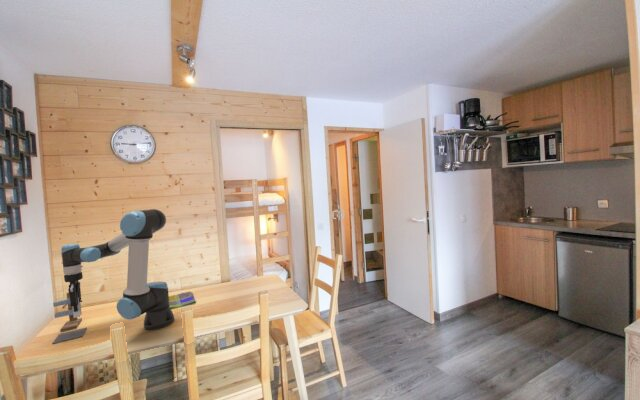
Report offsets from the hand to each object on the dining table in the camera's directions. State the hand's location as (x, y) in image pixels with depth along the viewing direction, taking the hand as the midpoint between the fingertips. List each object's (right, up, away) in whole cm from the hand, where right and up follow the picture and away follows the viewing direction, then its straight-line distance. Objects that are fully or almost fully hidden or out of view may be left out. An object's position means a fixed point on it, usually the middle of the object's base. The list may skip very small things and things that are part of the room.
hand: (77, 315), depth 159 cm
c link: (-4, +1, -2) cm, 4 cm away
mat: (-2, -10, -2) cm, 11 cm away
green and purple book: (+38, -6, +38) cm, 54 cm away
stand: (-12, -10, +10) cm, 18 cm away
